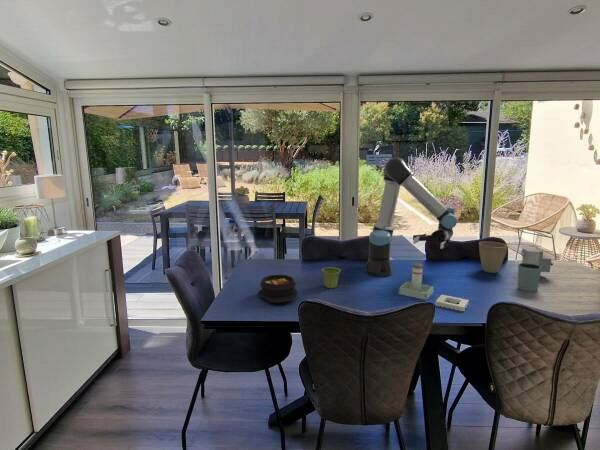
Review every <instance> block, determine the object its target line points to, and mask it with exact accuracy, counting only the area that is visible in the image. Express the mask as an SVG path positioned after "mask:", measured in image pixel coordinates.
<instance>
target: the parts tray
mask: <svg viewBox="0 0 600 450" xmlns="http://www.w3.org/2000/svg"><path fill="white" fill-rule="evenodd" d="M411 284H412V281H406V282H404V283H403V284H402V285H401V286H399V288H398V295H402V296H407V297H412V298H415V299H421V300H424V301H425V300H428V298H430V297H431V296H432V295H433V293H434V286H433V285H427V284H422V287H421V290H422V292H419V291H414V290H411Z"/></svg>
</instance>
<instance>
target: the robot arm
mask: <svg viewBox="0 0 600 450" xmlns="http://www.w3.org/2000/svg"><path fill="white" fill-rule="evenodd" d="M383 181H384V188H383V192H382V198H381V202H380V208H379V212H378V217H377V222H376V223H375V224H374V225H373V228H372V229H373V230H372V231H371V232H370V233H369V236H368V240H369V242H368V245H369V246H368V260H367V263H366V265H365V268H364V273H365V274H366V275H369V276H372V277H373V276H374V277H378V278H379V277H380V278H381V277H382V278H383V277H389V276H391V275H393V267H392V264H391V258H390V257H391V246H392V245H391V243H392V240H393V235H394V227H393V222H394V217H395V212H396V208H397V205H398V199H399V198H398V197H399V193H400V188H401V187H403V188H404V189H405V190H406V191H407V192H408V193H409V194H411V196H412V197H414V199H415V200H417V201H418V202H419V203H420V204H421V205H422V206H423V208H425V209H426V210H427V211H428V212H429V213H430V214H431V215H432V216H433V217H434V218H435V219H436V220H437V221H438V224H437V225H438V226H437V230H435V231H433V232H432V233H431V234H426V233H424V234H413V236H412V240H413V242H412V244H413V245H416V244H417V243H419V242H428V243H430V242H432V243H433V244H435V245H438V246H439V245H440V247H439V249H442V250H443V249H444V248H446V247H450V248H452V247H453V241H452V240H451V238H452V237H453V235H454V230H453V228H455V227H456V226H457V223H458V218H457V217H456V216H455V207H453V206H451V205H444V204H443V203H442V202H441V201H440V200H439V199H438V198H437V197H436V196H435V195H433V193H431V191H430V190H428V189H427V188H426V187H425V186H424V185H423V184H422V183H421V182H420V181H419V180H418V179H417V178H416V177H415V176H414V173H413V171H412V170H411V169H410V168H409V167H408V163H407V162H406V161H405V159H403V158H401V157H396V156H395V157H392V158H390V159H389V160H387V161H386V162H385V166H384V174H383Z"/></svg>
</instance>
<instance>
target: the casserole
mask: <svg viewBox="0 0 600 450" xmlns="http://www.w3.org/2000/svg"><path fill="white" fill-rule="evenodd" d="M296 283H297V282H296V281H295V279H294V277H292V276H290V275H285V274H272V275H267V276H264V277H262V279H261V281H260V283H259V285H260V287H261V289H259V291H258V296H259V297H262V298H263V299H265V300H266V301H267V302H269V303H274V304H275V303H277V304H279V303H288V302H291V301H293V300H294V299H295V297H296V296H297V295H298V293H299V292H298V290H297V289H296V288H295V286H296V285H297V284H296Z"/></svg>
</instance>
